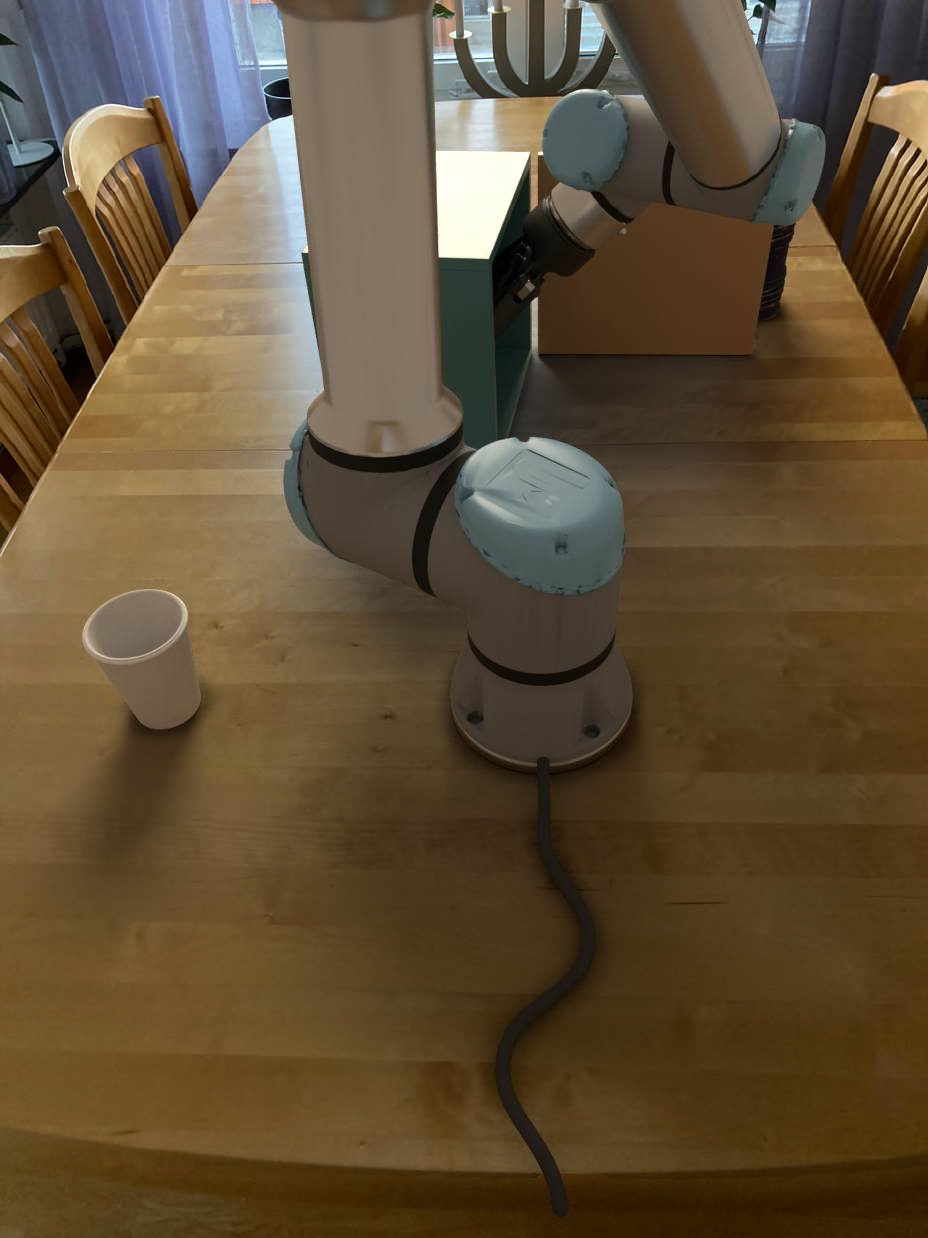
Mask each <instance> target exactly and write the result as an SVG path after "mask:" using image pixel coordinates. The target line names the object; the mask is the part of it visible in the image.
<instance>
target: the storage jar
mask: <svg viewBox="0 0 928 1238" xmlns="http://www.w3.org/2000/svg"><path fill="white" fill-rule="evenodd" d="M796 225H797V222H796V223H794V224H792V225H788V226H781V225H774V228H773V234H772V240H771V245H770V251H769V257H768V263H767V269H766V274H765V280H764V286H763V292H762V297H761V303H760V309H759V315H758V321H757V323H761V322H766V321H767V320H768V321H769V320H770V319H772V318H773V317H775V316H776V315H777V314H778V312H779V311H780V306H781V302H780V301H781V299H782V294H783V292H784V290H785V286H786V285H785V284H786V278H787V271H788V267H787V259H788V253H789V247H790V244H791V242H792V240H793V237H794V235H795V228H796Z"/></svg>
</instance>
